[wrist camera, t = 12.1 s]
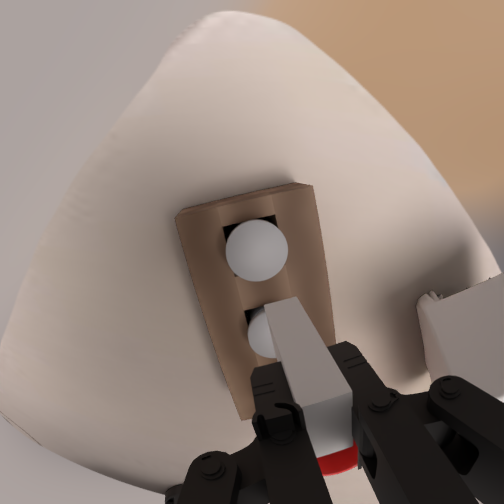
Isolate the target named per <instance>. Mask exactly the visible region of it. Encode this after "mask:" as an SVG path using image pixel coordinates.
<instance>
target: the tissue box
mask: <svg viewBox="0 0 504 504" xmlns="http://www.w3.org/2000/svg"><path fill="white" fill-rule="evenodd" d="M416 309H417V314H418V318H419V323H420V328H421V334H422V339H423V345H424V352H425V363H426V366H427V368H428V371H429V373H430V377H431V382H432V383H433V382H434V381H435V380H436V379H438V378H440V377H443V376H447V375H452V376H458V377H461V378H463V379H465V380H467V381H468V382H470V383H472V384H473V385H475V386H477V387H478V388H480V389H482V390H483V391H485V392H487V393H488V394H490V395H492V396H493V397H495V398H497V399H498V400H500V401H502V402H503V403H504V272H503V273H501V274H499V275H497V276H495V277H493V278H490V277H489V279H488V280H486V281H484V282H482V283H479V284H477V285H475V286H473V287H470V288H466V290H463V291H461V292H459V293H456V294H454V295H451V296H449V297H446V298H444V299H443V297H442V294H440V295H438V296H437V295H436V294H435V293H434V292H433V290H432V291H431V292H430V293H429V294H426V293H425V294H424V295H422V296H421V297H420V298H419V299H418V303H417V304H416Z"/></svg>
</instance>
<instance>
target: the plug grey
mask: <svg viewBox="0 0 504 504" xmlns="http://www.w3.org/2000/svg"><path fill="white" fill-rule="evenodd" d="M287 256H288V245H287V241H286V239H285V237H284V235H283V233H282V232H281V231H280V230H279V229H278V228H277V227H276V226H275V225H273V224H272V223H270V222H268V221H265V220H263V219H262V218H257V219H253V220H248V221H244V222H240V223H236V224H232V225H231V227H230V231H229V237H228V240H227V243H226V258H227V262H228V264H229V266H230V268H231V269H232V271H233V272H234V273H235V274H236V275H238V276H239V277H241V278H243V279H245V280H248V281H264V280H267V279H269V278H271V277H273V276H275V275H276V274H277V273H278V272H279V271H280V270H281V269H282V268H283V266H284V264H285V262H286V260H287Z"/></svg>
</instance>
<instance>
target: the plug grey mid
mask: <svg viewBox="0 0 504 504" xmlns="http://www.w3.org/2000/svg"><path fill="white" fill-rule="evenodd" d="M248 313H249V317H250V324H249V326H248V340H249V344H250V346H251V348H252V349H253V350H254V351H255V352H256V353H257V354H259V355H261V356H263V357H267V358H276V355H275V351H274V346H273V342H272V338H271V334H270V329H269V325H268V321H267V317H266V312H265V308H264V306H261V307H257V308H253V309H249V310H248Z"/></svg>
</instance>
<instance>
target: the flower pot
mask: <svg viewBox="0 0 504 504" xmlns="http://www.w3.org/2000/svg"><path fill="white" fill-rule="evenodd" d="M317 460H318V463H319V466H320V469H321V472H322V475H323V476H329V475H335V474H339V473H342V472H345V471H348V470H350V469H352V468H354V467H356V466H358V465H357V461H358V447H357V445H356V443H355V441H354V439H353V446H352V447H349V448H346V449H343V450H340V451H337V452H334V453H331V454H328V455H325V456H322V457H318V458H317Z"/></svg>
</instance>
